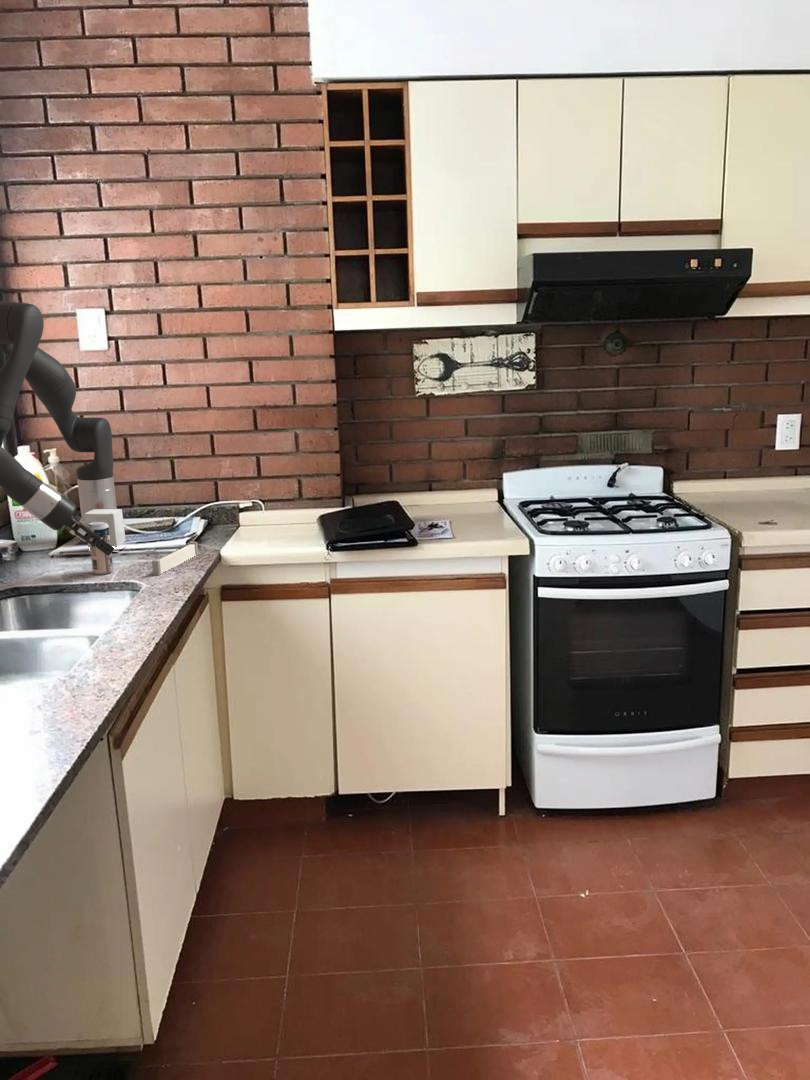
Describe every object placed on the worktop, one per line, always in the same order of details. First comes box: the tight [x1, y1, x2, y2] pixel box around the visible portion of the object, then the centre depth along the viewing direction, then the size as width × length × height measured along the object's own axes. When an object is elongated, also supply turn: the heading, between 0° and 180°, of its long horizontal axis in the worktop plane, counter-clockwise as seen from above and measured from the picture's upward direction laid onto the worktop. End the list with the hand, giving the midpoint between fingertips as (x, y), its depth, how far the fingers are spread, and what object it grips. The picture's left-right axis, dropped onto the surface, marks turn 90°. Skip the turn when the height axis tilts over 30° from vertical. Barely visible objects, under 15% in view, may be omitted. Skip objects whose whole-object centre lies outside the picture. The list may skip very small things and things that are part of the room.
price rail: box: [151, 541, 199, 576], centre depth 206 cm, size 18×2×3 cm, turn 165°
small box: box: [84, 508, 127, 548], centre depth 220 cm, size 8×6×10 cm
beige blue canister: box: [89, 521, 114, 576], centre depth 200 cm, size 5×5×12 cm
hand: (109, 549), depth 201 cm, fingers closed on beige blue canister, 4 cm apart
